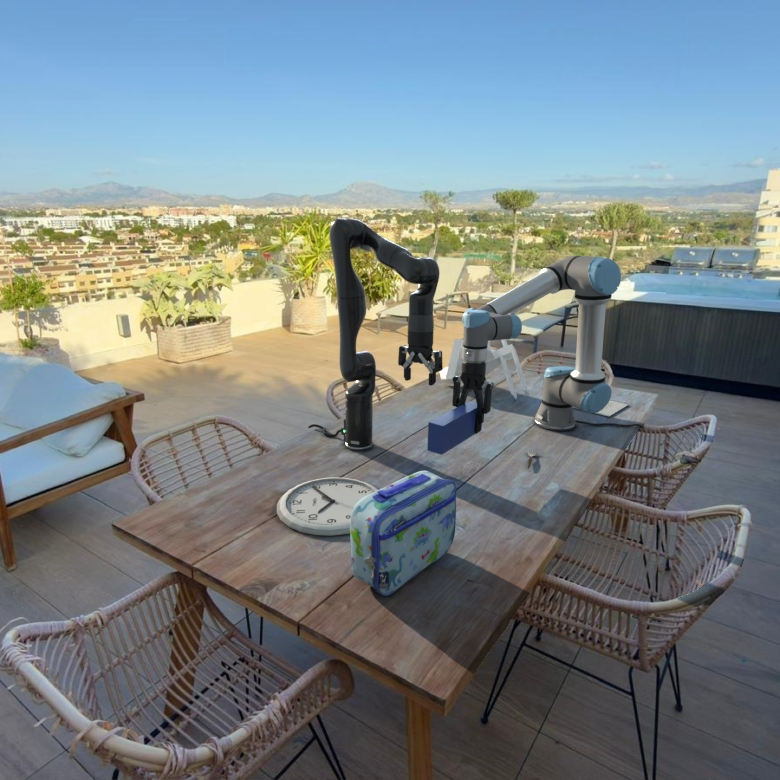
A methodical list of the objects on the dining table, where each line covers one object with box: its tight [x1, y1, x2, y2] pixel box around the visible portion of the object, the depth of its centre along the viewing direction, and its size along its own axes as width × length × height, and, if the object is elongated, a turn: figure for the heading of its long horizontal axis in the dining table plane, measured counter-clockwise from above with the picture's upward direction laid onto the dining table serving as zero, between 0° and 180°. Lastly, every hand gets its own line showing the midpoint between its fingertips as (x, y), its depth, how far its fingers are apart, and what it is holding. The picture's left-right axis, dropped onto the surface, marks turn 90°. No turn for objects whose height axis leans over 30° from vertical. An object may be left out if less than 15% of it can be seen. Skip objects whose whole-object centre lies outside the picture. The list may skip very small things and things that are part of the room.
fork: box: [527, 445, 537, 469], centre depth 172 cm, size 3×16×2 cm, turn 160°
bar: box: [427, 400, 483, 456], centre depth 162 cm, size 25×5×9 cm, turn 143°
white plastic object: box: [438, 338, 531, 400], centre depth 245 cm, size 37×45×31 cm
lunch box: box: [349, 470, 457, 597], centre depth 114 cm, size 26×11×21 cm, turn 134°
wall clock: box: [276, 476, 380, 537], centre depth 142 cm, size 30×2×30 cm
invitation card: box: [573, 399, 629, 418], centre depth 226 cm, size 21×1×15 cm
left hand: (419, 382), depth 157 cm, fingers open, 8 cm apart
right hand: (469, 429), depth 170 cm, fingers closed on bar, 5 cm apart
